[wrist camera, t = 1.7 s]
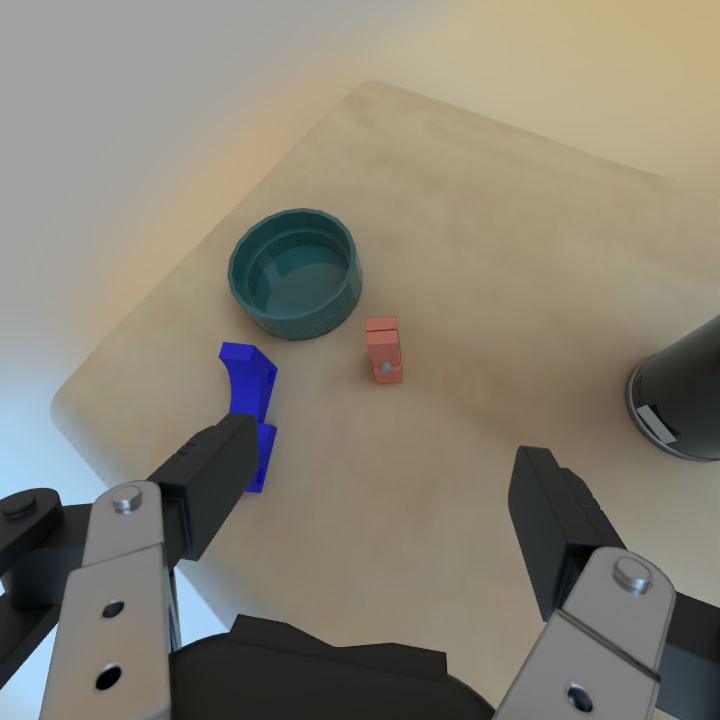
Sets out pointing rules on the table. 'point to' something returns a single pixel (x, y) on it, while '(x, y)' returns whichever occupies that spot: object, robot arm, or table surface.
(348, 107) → the table surface
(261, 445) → the cable clip
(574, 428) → the table surface
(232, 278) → the bowl
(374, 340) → the clothespin
